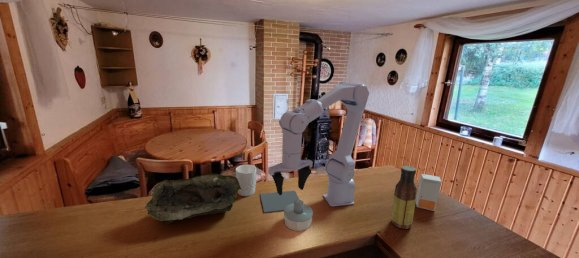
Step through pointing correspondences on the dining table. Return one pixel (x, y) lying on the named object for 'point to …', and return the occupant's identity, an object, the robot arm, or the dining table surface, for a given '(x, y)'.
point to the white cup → (246, 179)
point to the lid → (298, 211)
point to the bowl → (297, 224)
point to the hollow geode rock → (193, 197)
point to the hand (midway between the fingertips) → (290, 190)
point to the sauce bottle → (404, 199)
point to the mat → (277, 200)
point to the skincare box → (428, 192)
